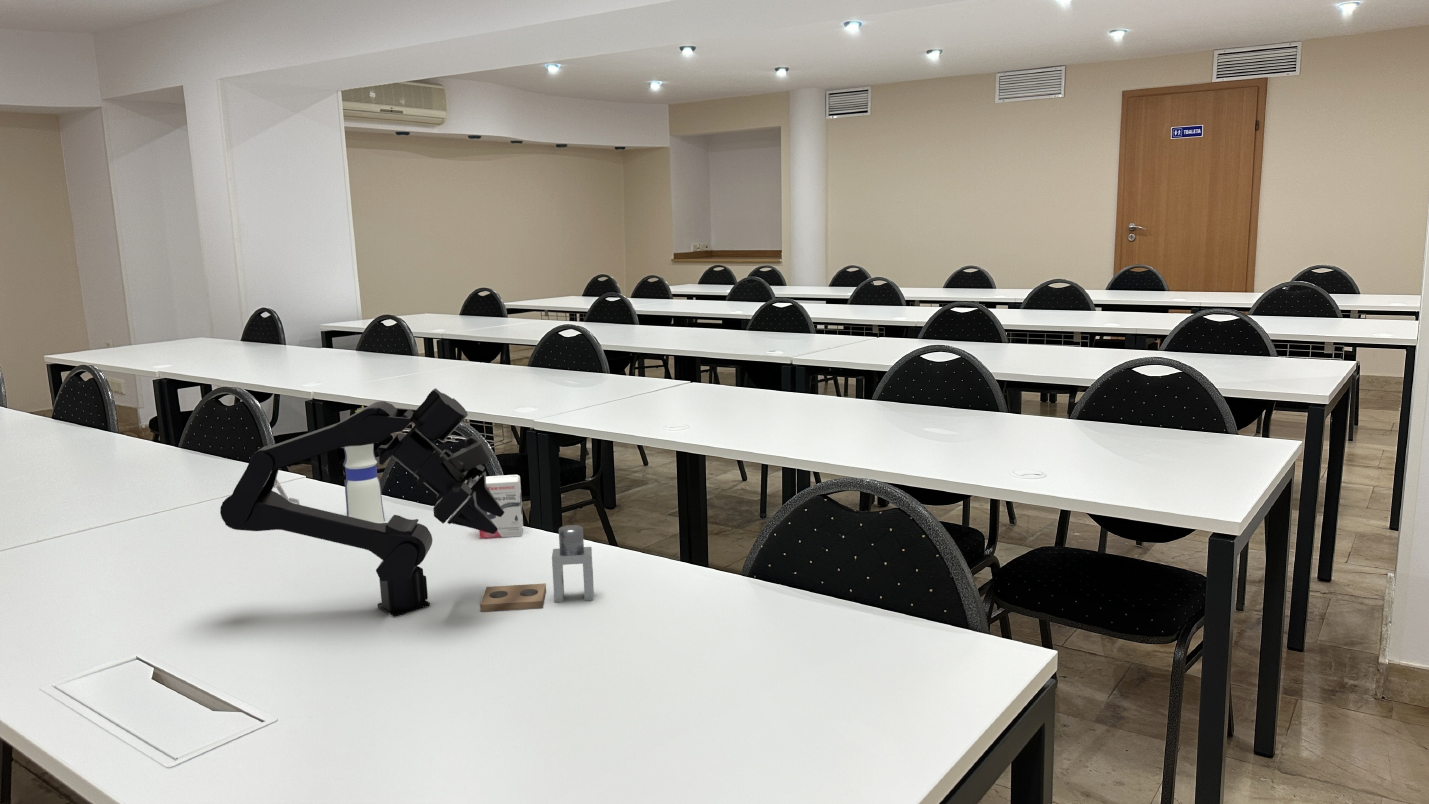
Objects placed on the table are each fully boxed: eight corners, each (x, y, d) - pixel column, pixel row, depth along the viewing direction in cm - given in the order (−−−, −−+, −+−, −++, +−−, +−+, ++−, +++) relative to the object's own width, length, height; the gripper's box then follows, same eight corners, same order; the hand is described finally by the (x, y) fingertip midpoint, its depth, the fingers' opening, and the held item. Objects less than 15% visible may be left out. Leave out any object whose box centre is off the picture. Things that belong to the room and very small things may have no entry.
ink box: (479, 539, 194) (475, 482, 192) (481, 531, 199) (477, 476, 197) (522, 536, 195) (518, 480, 193) (523, 529, 200) (520, 474, 198)
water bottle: (342, 520, 209) (331, 407, 204) (383, 515, 212) (373, 403, 208) (345, 531, 201) (333, 414, 197) (388, 525, 205) (377, 409, 200)
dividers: (554, 602, 160) (550, 533, 158) (555, 593, 164) (552, 526, 162) (593, 600, 161) (589, 531, 158) (593, 591, 164) (590, 523, 162)
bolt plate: (480, 611, 157) (479, 604, 157) (487, 593, 165) (486, 586, 164) (542, 607, 158) (542, 600, 158) (546, 589, 166) (545, 582, 165)
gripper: (449, 437, 146) (527, 503, 149) (467, 414, 164) (536, 473, 167) (400, 490, 147) (479, 555, 150) (424, 461, 165) (493, 519, 168)
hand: (499, 522), depth 159 cm, fingers open, 9 cm apart
